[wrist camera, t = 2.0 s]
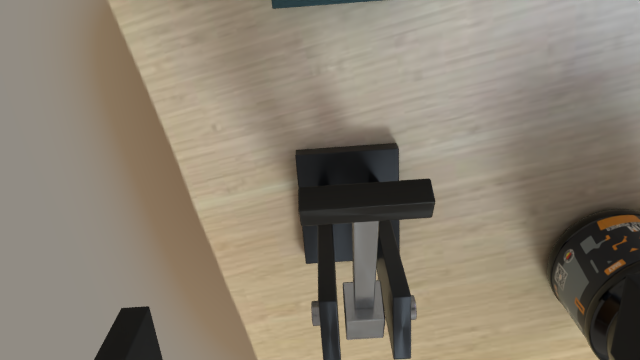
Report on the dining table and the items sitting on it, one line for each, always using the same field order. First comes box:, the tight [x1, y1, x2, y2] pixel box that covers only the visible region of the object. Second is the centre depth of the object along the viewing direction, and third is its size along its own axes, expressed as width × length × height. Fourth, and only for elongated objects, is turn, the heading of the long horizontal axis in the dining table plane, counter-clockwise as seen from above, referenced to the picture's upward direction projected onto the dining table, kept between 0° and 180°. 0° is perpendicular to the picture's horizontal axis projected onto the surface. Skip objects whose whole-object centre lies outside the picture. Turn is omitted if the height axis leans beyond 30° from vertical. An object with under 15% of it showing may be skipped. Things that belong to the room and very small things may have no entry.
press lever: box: [298, 179, 435, 340], centre depth 26 cm, size 13×6×2 cm, turn 6°
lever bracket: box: [295, 143, 417, 360], centre depth 36 cm, size 10×8×16 cm
